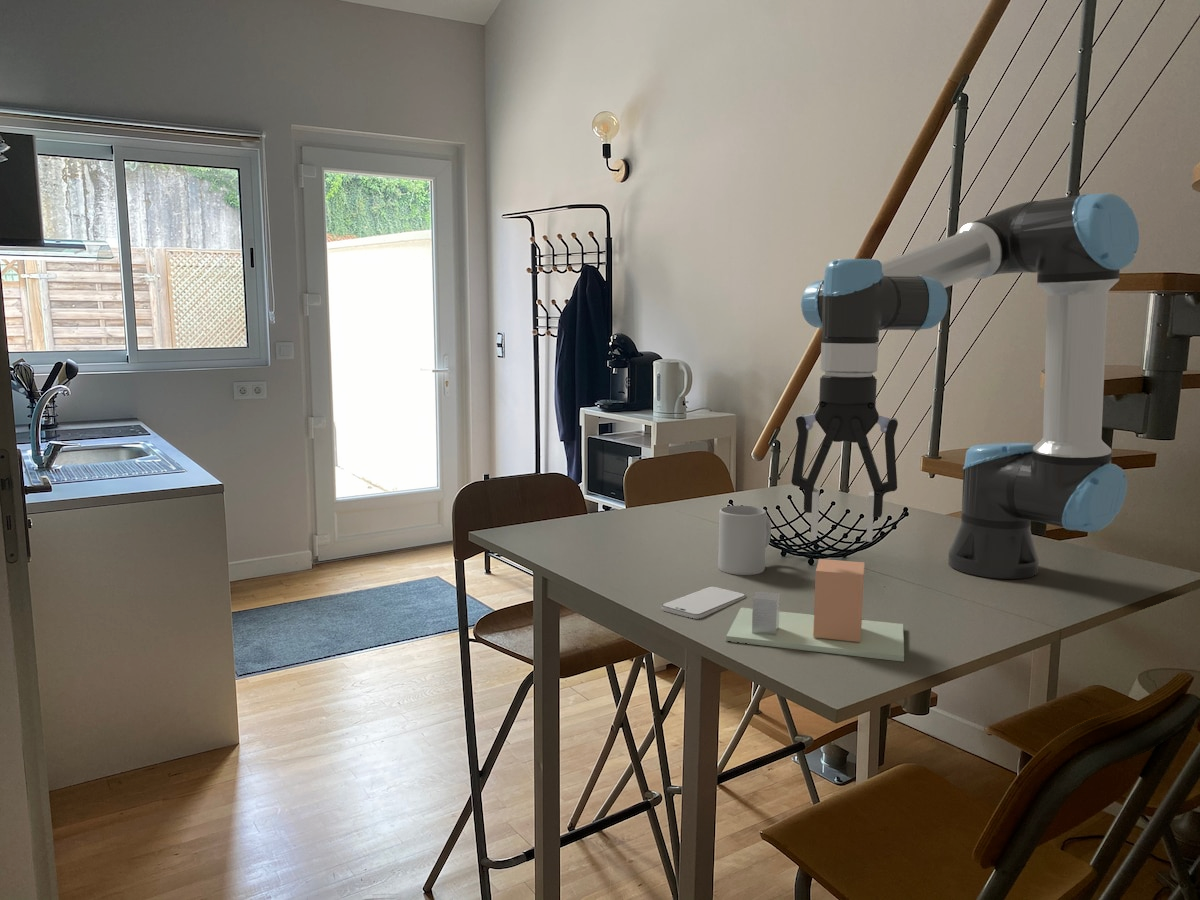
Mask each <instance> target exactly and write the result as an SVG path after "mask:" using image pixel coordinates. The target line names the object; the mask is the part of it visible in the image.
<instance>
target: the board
mask: <svg viewBox="0 0 1200 900" xmlns="http://www.w3.org/2000/svg"><path fill="white" fill-rule="evenodd" d="M752 612H753V608H752V607H751V608H750V607H749V608H748V607H740V608H739V610H738V612H737V614H736V616H735V618H734V620H733V622H732V623H731V626H730V627H729V629H728V632H727V634H726V637H725V642H728V641H731V642H730V643H737V642H739V643H738V644H745V643H747V644H748V645H756V646H765V647H773V648H781V649H782V648H783V649H789V650H800V651H808V652H819V653H826V654H835V655H843V656H851V657H852V656H853V657H859V658H870V659H879V660H886V661H894V662H895V661H896V662H905V644H904V643H905V639H904V623H894V622H888V621H887V622H886V621H876V620H867V619H862V628H861V641H860V642H854V641H845V640H835V639H826V638H817V637H813V632H814V614H808V613H799V612H790V611H789V612H787V611H780V610H779V628H778V631H777V634H776V636H774V635H765V634H756V633H752ZM747 644H746V645H747Z"/></svg>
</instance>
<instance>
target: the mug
mask: <svg viewBox="0 0 1200 900" xmlns="http://www.w3.org/2000/svg"><path fill="white" fill-rule="evenodd" d="M718 513H719V516H718V517H719V518H718V519H719V521H718V555H717V556H718V557H717V561H718V562H717V567H718V569H719V570H720V571H721V572H722V573H725V574H730V575H735V576H736V575H737V576H753V575H754V576H755V575H758V574H762V573H764V571H765V570H766V548H768V546H769V545H770V541H771V534H772V524H771V519H770V517H769V516H768V515H767V511H766V509H764V508H762V507H757V506H753V505H728V506H723V507H721V508H720V509H719V512H718Z"/></svg>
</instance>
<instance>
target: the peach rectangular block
mask: <svg viewBox="0 0 1200 900" xmlns="http://www.w3.org/2000/svg"><path fill="white" fill-rule="evenodd" d="M865 564H866V563H865V562H864V561H863V562H862V561H849V560H838V559H824V558H818V562H817V566H816V569H815V580H814V581H815V582H814V583H815V585H814V607H813V609H814V611H813V615H814V632H813V637H817V638H826V639H835V640H845V641H854V642H860V641H861V628H862V620H863V603H864V602H863V601H864V587H865V585H864V582H865V581H864V580H865Z"/></svg>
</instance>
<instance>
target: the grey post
mask: <svg viewBox="0 0 1200 900" xmlns="http://www.w3.org/2000/svg"><path fill="white" fill-rule="evenodd" d="M780 596H781V594H780V593H778V592H767V591H755V593H754V596H753V597H752V609H753V612H752V633H756V634H765V635H774V636H776V634H777V631H778V628H779V611H780V599H781V597H780Z"/></svg>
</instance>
